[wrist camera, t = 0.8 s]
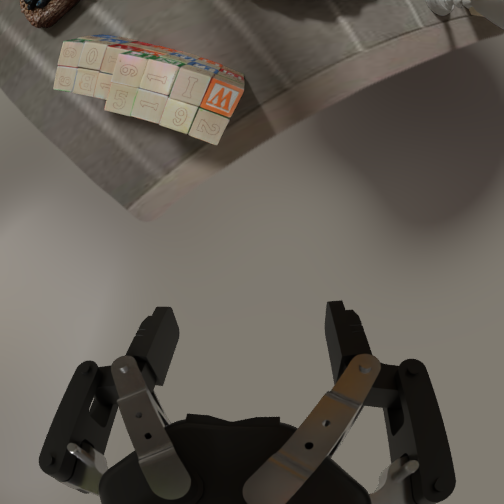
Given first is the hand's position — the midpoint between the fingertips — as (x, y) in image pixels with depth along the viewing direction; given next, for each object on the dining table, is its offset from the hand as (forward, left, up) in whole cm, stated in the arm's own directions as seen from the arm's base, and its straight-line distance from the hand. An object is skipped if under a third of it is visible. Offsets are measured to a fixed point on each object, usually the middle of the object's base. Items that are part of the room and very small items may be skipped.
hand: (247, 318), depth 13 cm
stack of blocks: (-14, -2, -29) cm, 33 cm away
